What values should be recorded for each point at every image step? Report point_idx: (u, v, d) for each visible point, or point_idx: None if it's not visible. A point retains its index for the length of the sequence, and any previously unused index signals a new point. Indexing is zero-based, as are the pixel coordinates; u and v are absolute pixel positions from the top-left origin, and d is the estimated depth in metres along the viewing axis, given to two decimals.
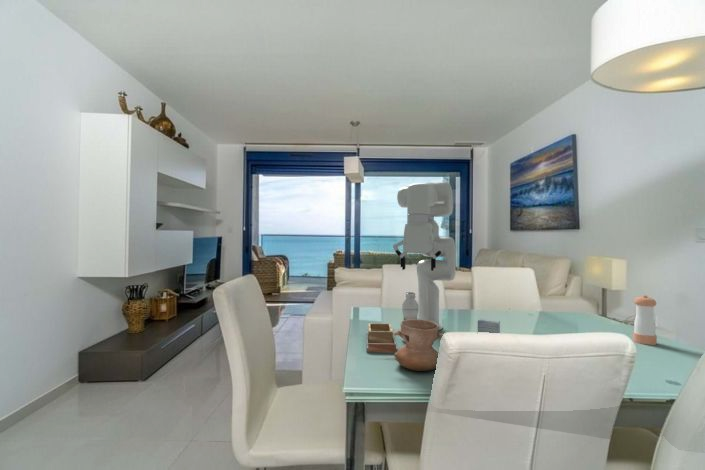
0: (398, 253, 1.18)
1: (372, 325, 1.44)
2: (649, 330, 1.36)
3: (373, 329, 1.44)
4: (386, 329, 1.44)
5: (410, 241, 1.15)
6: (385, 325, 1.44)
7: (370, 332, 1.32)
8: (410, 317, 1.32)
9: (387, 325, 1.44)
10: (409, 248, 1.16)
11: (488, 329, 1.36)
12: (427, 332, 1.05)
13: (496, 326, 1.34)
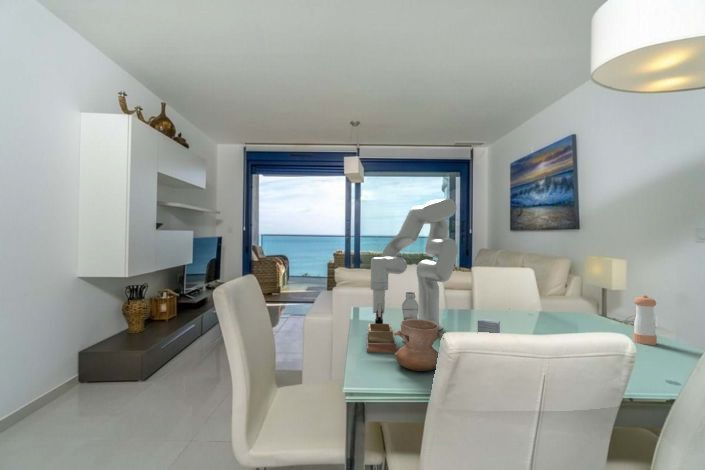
0: (381, 317, 1.44)
1: (372, 325, 1.43)
2: (649, 330, 1.36)
3: (373, 329, 1.43)
4: (386, 329, 1.43)
5: None
6: (385, 325, 1.43)
7: (370, 332, 1.32)
8: (410, 317, 1.32)
9: (387, 325, 1.43)
10: None
11: (488, 329, 1.36)
12: (427, 332, 1.05)
13: (496, 326, 1.34)
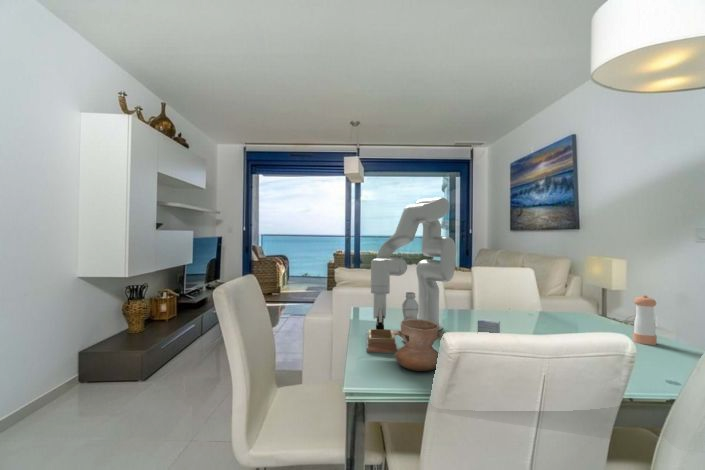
0: (382, 322, 1.35)
1: (373, 331, 1.35)
2: (649, 330, 1.36)
3: (374, 335, 1.35)
4: (388, 335, 1.34)
5: None
6: (386, 331, 1.34)
7: (371, 339, 1.23)
8: (410, 317, 1.32)
9: (389, 331, 1.34)
10: None
11: (488, 329, 1.36)
12: (427, 332, 1.05)
13: (496, 326, 1.34)
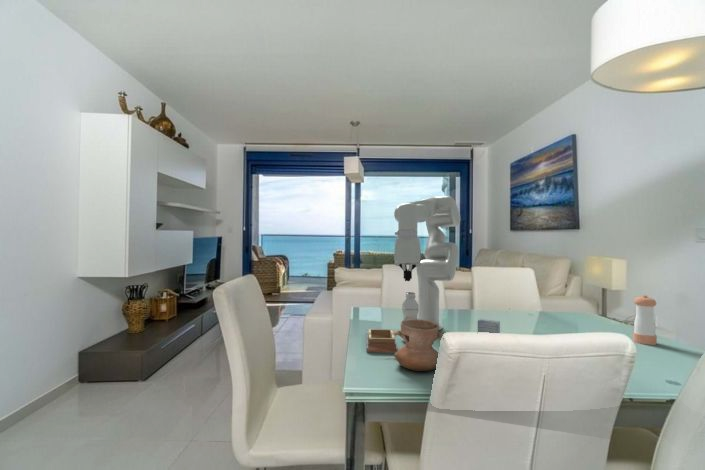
0: None
1: (373, 331, 1.35)
2: (649, 330, 1.36)
3: (374, 335, 1.35)
4: (387, 335, 1.34)
5: None
6: (386, 331, 1.34)
7: (371, 339, 1.23)
8: (410, 317, 1.32)
9: (389, 331, 1.34)
10: None
11: (488, 329, 1.36)
12: (427, 332, 1.05)
13: (496, 326, 1.34)
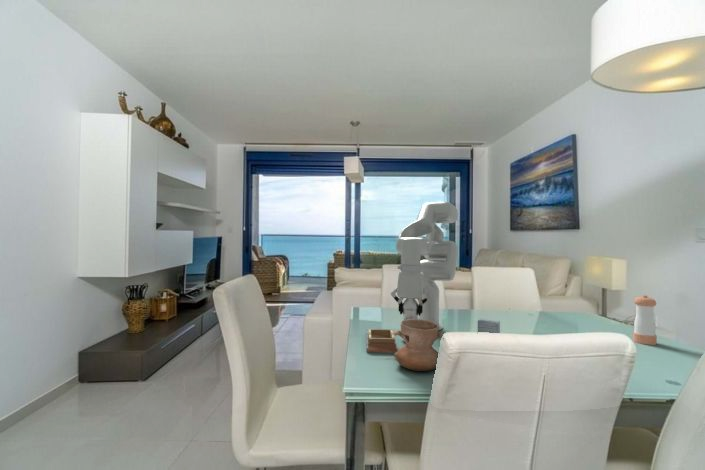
0: None
1: (373, 331, 1.35)
2: (649, 330, 1.36)
3: (374, 335, 1.35)
4: (387, 335, 1.34)
5: None
6: (386, 331, 1.34)
7: (371, 339, 1.23)
8: (410, 317, 1.32)
9: (389, 331, 1.34)
10: None
11: (488, 329, 1.36)
12: (427, 332, 1.05)
13: (496, 326, 1.34)
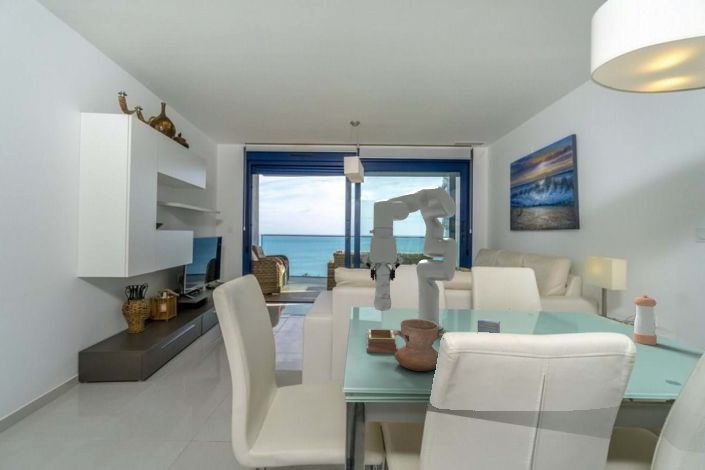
0: None
1: (373, 331, 1.35)
2: (649, 330, 1.36)
3: (374, 335, 1.35)
4: (387, 335, 1.34)
5: None
6: (386, 331, 1.34)
7: (371, 339, 1.23)
8: (384, 282, 1.27)
9: (389, 331, 1.34)
10: None
11: (488, 329, 1.36)
12: (427, 332, 1.05)
13: (496, 326, 1.34)
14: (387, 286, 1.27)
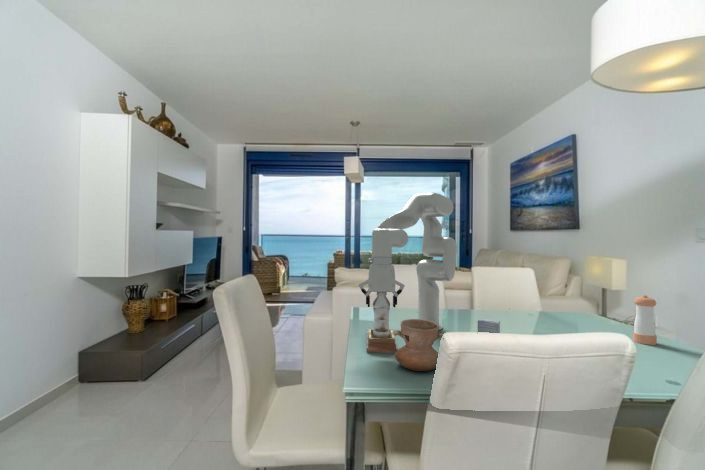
0: None
1: None
2: (649, 330, 1.36)
3: None
4: None
5: None
6: None
7: (371, 339, 1.23)
8: (382, 315, 1.26)
9: None
10: None
11: (488, 329, 1.36)
12: (427, 332, 1.05)
13: (496, 326, 1.34)
14: (386, 319, 1.27)
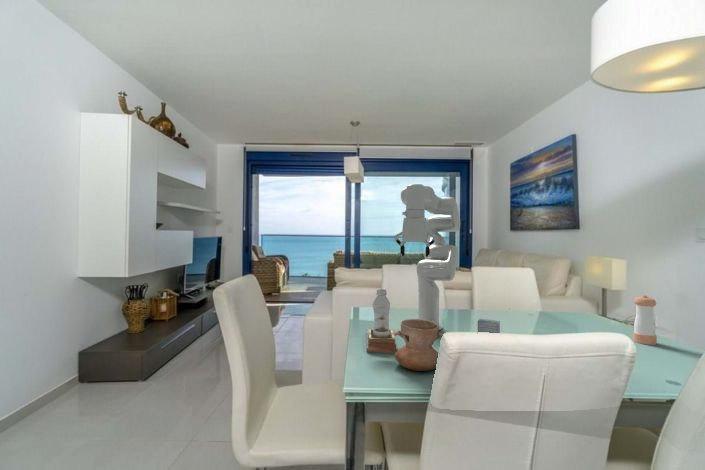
0: None
1: None
2: (649, 330, 1.36)
3: None
4: None
5: None
6: None
7: (371, 339, 1.23)
8: (382, 315, 1.27)
9: None
10: None
11: (488, 329, 1.36)
12: (427, 332, 1.05)
13: (496, 326, 1.34)
14: (386, 319, 1.27)
